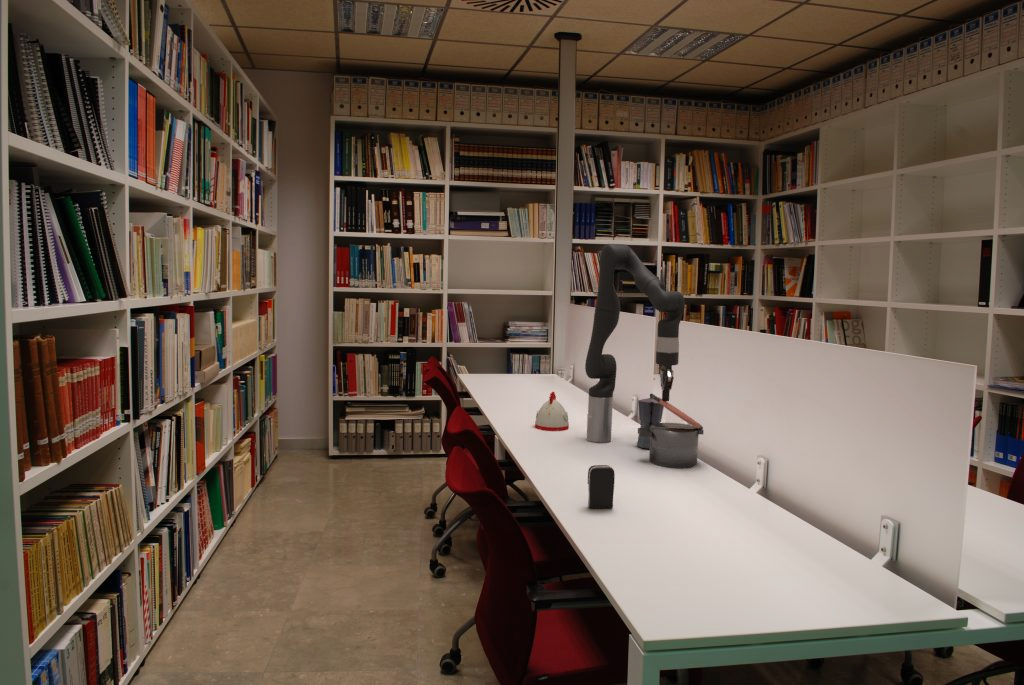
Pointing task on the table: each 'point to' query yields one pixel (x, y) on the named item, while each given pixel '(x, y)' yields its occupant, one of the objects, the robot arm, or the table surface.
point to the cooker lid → (677, 412)
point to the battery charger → (600, 486)
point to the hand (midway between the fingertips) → (665, 401)
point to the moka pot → (648, 418)
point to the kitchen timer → (552, 416)
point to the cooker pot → (672, 444)
